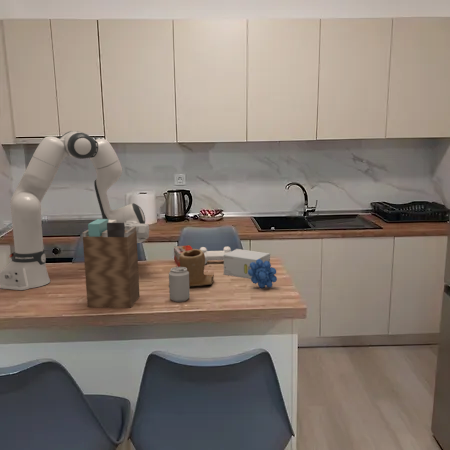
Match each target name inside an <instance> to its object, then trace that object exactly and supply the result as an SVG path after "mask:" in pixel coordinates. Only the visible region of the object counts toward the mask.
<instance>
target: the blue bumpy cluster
mask: <svg viewBox="0 0 450 450" xmlns="http://www.w3.org/2000/svg"><path fill="white" fill-rule="evenodd" d="M250 268H251V269H249V270H248V274H249V275H250V276H252V277H251V279H250V281H251V282H252V284H254V285H257V286H258V287H259V288H261V289H264V288H265V287H267V288H272V287H273V284H274V283H276V282H277V281H278V278H277V276H276V275H277V274H276V273H277V269H276V268H275V267H272V263H271V261H270V262H268V261H265V262H264V263H263V261H262V260H261V259H258V260H256V263H254V262H252V263H250Z"/></svg>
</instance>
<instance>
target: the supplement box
mask: <svg viewBox="0 0 450 450" xmlns="http://www.w3.org/2000/svg"><path fill="white" fill-rule="evenodd" d="M258 259H261V260H262V261H263V263H264V262H265V261H268V262H270V263H271V253H270V252H262V251H255V250H248V249H240V248H235V249H234V250H231V252H229V253H226V254H224V260H223V275H226V276H231V277H237V278H244V279H249V280H251V277H252V276H250V275H249V274H248V270H249V269H251V268H250V263H252V262H254V263H256V260H258Z"/></svg>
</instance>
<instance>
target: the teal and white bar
mask: <svg viewBox="0 0 450 450" xmlns="http://www.w3.org/2000/svg"><path fill="white" fill-rule="evenodd" d="M107 223H117V221H116V220H108V219H102V218H97V219H95V220H93V221H91V222H89V223H87V230H88V232H89V237H100V236H102V232H104V231H106V230H107Z"/></svg>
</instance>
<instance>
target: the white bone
mask: <svg viewBox="0 0 450 450" xmlns="http://www.w3.org/2000/svg"><path fill="white" fill-rule="evenodd" d="M199 250H202V251H203V253H204V255H205V265H207V264H208V261H224V254H226V253H229V252H231V251H232V249H231V247H230V246H224V247H223V250H208V249H207V247H204V246H201V247H200V248H199Z"/></svg>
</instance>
